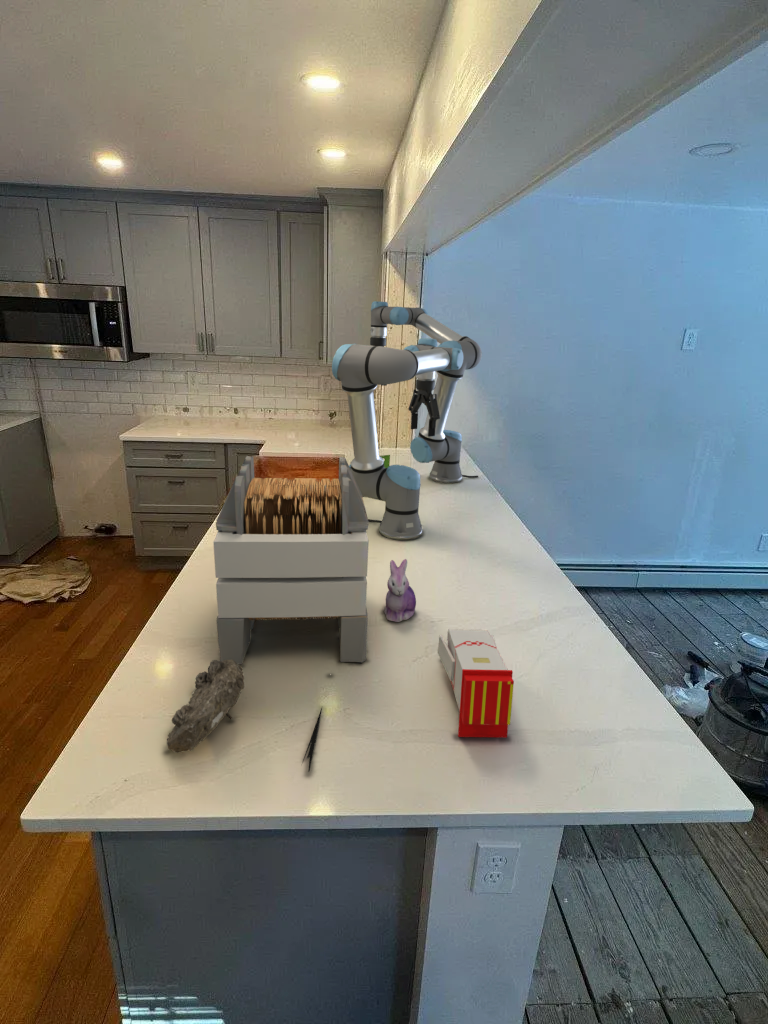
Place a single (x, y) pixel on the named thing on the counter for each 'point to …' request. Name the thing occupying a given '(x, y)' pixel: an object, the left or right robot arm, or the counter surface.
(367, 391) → the left robot arm
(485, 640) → the toy
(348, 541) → the grey boxy piece
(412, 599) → the figurine
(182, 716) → the fossil
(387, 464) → the ink box
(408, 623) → the counter surface
